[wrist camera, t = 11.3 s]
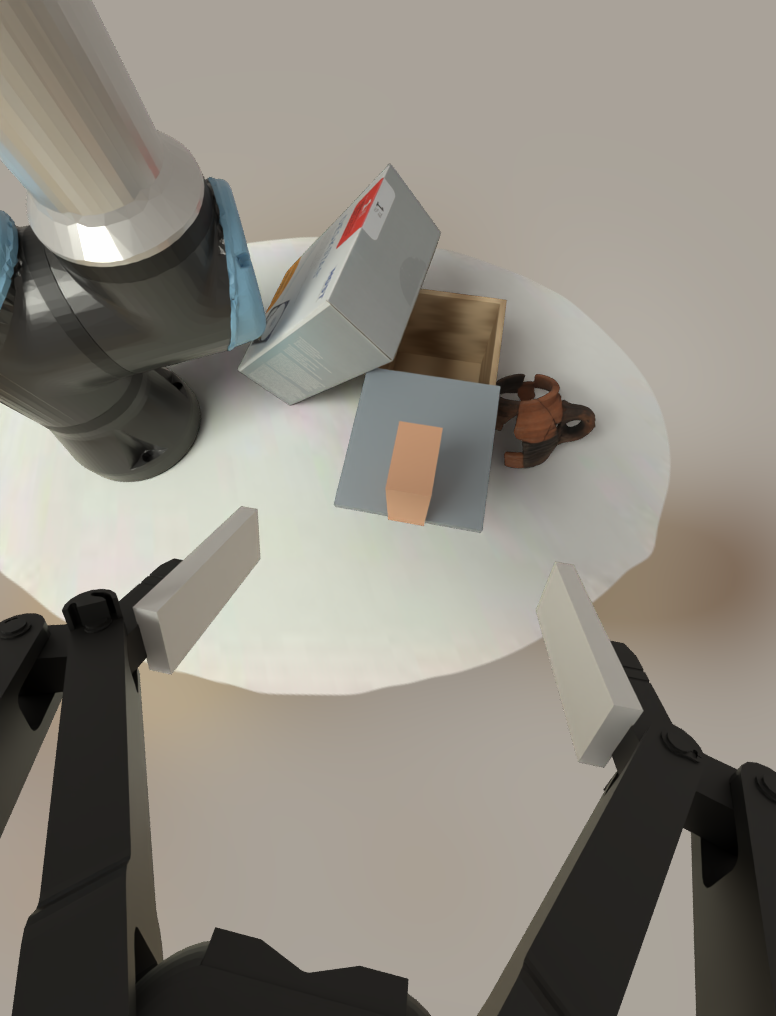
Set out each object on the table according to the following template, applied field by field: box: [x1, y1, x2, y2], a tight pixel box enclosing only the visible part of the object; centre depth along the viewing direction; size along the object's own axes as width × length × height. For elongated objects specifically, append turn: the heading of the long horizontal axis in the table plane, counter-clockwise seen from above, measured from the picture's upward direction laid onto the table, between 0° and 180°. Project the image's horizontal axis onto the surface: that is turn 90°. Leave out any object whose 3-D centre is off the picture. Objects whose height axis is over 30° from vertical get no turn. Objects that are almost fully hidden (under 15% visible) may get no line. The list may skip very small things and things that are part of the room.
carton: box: [378, 289, 507, 386], centre depth 43 cm, size 12×14×10 cm
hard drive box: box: [238, 163, 440, 405], centre depth 40 cm, size 16×8×20 cm
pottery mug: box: [495, 374, 595, 468], centre depth 44 cm, size 12×10×8 cm
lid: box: [334, 368, 500, 533], centre depth 31 cm, size 13×14×8 cm
